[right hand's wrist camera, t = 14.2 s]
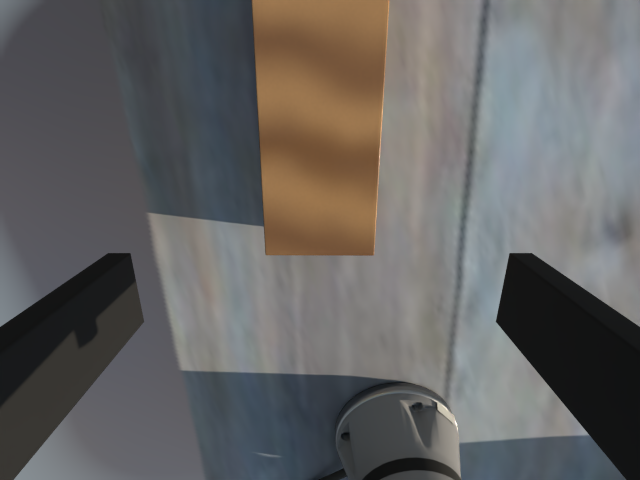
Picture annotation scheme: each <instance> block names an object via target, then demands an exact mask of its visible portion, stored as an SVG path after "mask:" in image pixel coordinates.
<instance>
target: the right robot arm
mask: <svg viewBox="0 0 640 480" xmlns="http://www.w3.org/2000/svg"><path fill="white" fill-rule="evenodd" d="M143 322H144V319H143V315H142V309H141V304H140V299H139V294H138V289H137V284H136V279H135V274H134V269H133V264H132V259H131V254H130V253H108V254H106V255H105V256H104V257H102V258H101V259H99V260H98V261H96V262H95V263H93V264H92V265H90V266H89V267H87V268H86V269H85V270H83V271H82V272H80V273H79V274H77V275H76V276H74V277H73V278H71V279H70V280H68V281H67V282H65V283H64V284H62V285H61V286H60V287H58V288H57V289H55V290H54V291H52V292H51V293H49V294H48V295H46V296H45V297H44V298H42V299H41V300H39V301H38V302H36V303H35V304H33V305H32V306H30V307H29V308H27V309H26V310H24V311H23V312H22V313H20V314H19V315H17V316H16V317H14V318H13V319H11V320H10V321H8V322H7V323H5V324H4V325H3V326H1V327H0V480H14V478H15V477H16V476H17V475H18V474H19V472H20V471H21V470H22V469H23V468H24V466H25V465H26V464H27V463H28V461H29V460H30V459H31V458H32V457H33V455H34V454H35V453H36V452H37V451H38V449H39V448H40V447H41V446H42V445H43V443H44V442H45V441H46V440H47V439H48V437H49V436H50V435H51V434H52V432H53V431H54V430H55V429H56V428H57V426H58V425H59V424H60V423H61V422H62V420H63V419H64V418H65V417H66V415H67V414H68V413H69V412H70V411H71V409H72V408H73V407H74V406H75V405H76V403H77V402H78V401H79V400H80V399H81V397H82V396H83V395H84V394H85V392H86V391H87V390H88V389H89V388H90V386H91V385H92V384H93V383H94V382H95V380H96V379H97V378H98V377H99V376H100V374H101V373H102V372H103V371H104V369H105V368H106V367H107V366H108V365H109V363H110V362H111V361H112V360H113V359H114V357H115V356H116V355H117V354H118V352H119V351H120V350H121V349H122V348H123V346H124V345H125V344H126V343H127V342H128V340H129V339H130V338H131V337H132V336H133V334H134V333H135V332H136V331H137V330H138V328H139V327H140V326H141V325H142V323H143ZM496 322H497V323H498V325H499V326H500V327H501V328H502V330H503V331H504V332H505V333H506V334H507V336H508V337H509V338H510V339H511V340H512V342H513V343H514V344H515V345H516V346H517V348H518V349H519V350H520V351H521V353H522V354H523V355H524V356H525V357H526V359H527V360H528V361H529V362H530V363H531V365H532V366H533V367H534V368H535V370H536V371H537V372H538V373H539V374H540V376H541V377H542V378H543V379H544V380H545V382H546V383H547V384H548V385H549V386H550V388H551V389H552V390H553V391H554V393H555V394H556V395H557V396H558V397H559V399H560V400H561V401H562V402H563V403H564V405H565V406H566V407H567V408H568V409H569V411H570V412H571V413H572V414H573V416H574V417H575V418H576V419H577V420H578V422H579V423H580V424H581V425H582V426H583V428H584V429H585V430H586V431H587V432H588V434H589V435H590V436H591V437H592V439H593V440H594V441H595V442H596V443H597V445H598V446H599V447H600V448H601V449H602V451H603V452H604V453H605V454H606V455H607V457H608V458H609V459H610V460H611V462H612V463H613V464H614V465H615V466H616V468H617V469H618V470H619V471H620V472H621V474H622V475H623V476H624V477H625V478H626V480H640V327H639V326H638V325H636V324H635V323H633V322H632V321H630V320H629V319H627V318H626V317H624V316H623V315H621V314H620V313H618V312H617V311H616V310H614V309H613V308H611V307H610V306H608V305H607V304H605V303H604V302H602V301H601V300H599V299H598V298H597V297H595V296H594V295H592V294H591V293H589V292H588V291H586V290H585V289H583V288H582V287H580V286H579V285H577V284H576V283H575V282H573V281H572V280H570V279H569V278H567V277H566V276H564V275H563V274H561V273H560V272H558V271H557V270H556V269H554V268H553V267H551V266H550V265H548V264H547V263H545V262H544V261H542V260H541V259H539V258H538V257H537V256H535V255H534V254H532V253H510V254H509V259H508V264H507V269H506V274H505V279H504V284H503V289H502V294H501V299H500V304H499V309H498V314H497V319H496ZM335 436H336V448H337V452H338V455H339V458H340V460H341V462H342V465H343V467H344V468H343V469H341V470H339V471H337V472H335V473H333V474H330V475H328V476H326V477H323V478H321V479H319V480H340V479H342V478H344V477H346V476H347V477H348V479H349V480H462V479H461V473H460V453H459V435H458V428H457V424H456V421H455V418H454V415H453V414H452V412H451V410H450V408H449V406H448V405H447V403H446V402H445V401H444V400H443V399H442V398H441V397H440V396H439V395H437V394H436V393H435V392H433V391H431V390H429V389H427V388H425V387H422V386H419V385H415V384H409V383H389V384H383V385H378V386H375V387H372V388H369V389H367V390H365V391H363V392H361V393H359V394H358V395H356V396H355V397H354V398H352V399H351V400H350V401H349V402H348V403H347V404H346V405H345V406H344V408H343V409H342V410H341V412H340V414H339V416H338V418H337V422H336V427H335Z"/></svg>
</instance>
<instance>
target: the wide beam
mask: <svg viewBox="0 0 640 480" xmlns="http://www.w3.org/2000/svg"><path fill="white" fill-rule="evenodd" d="M388 13H389V0H252V16H253V35H254V53H255V71H256V89H257V108H258V126H259V144H260V162H261V180H262V199H263V217H264V235H265V253H266V255H374V247H375V230H376V213H377V197H378V180H379V163H380V147H381V130H382V113H383V96H384V80H385V63H386V46H387V30H388Z"/></svg>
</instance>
